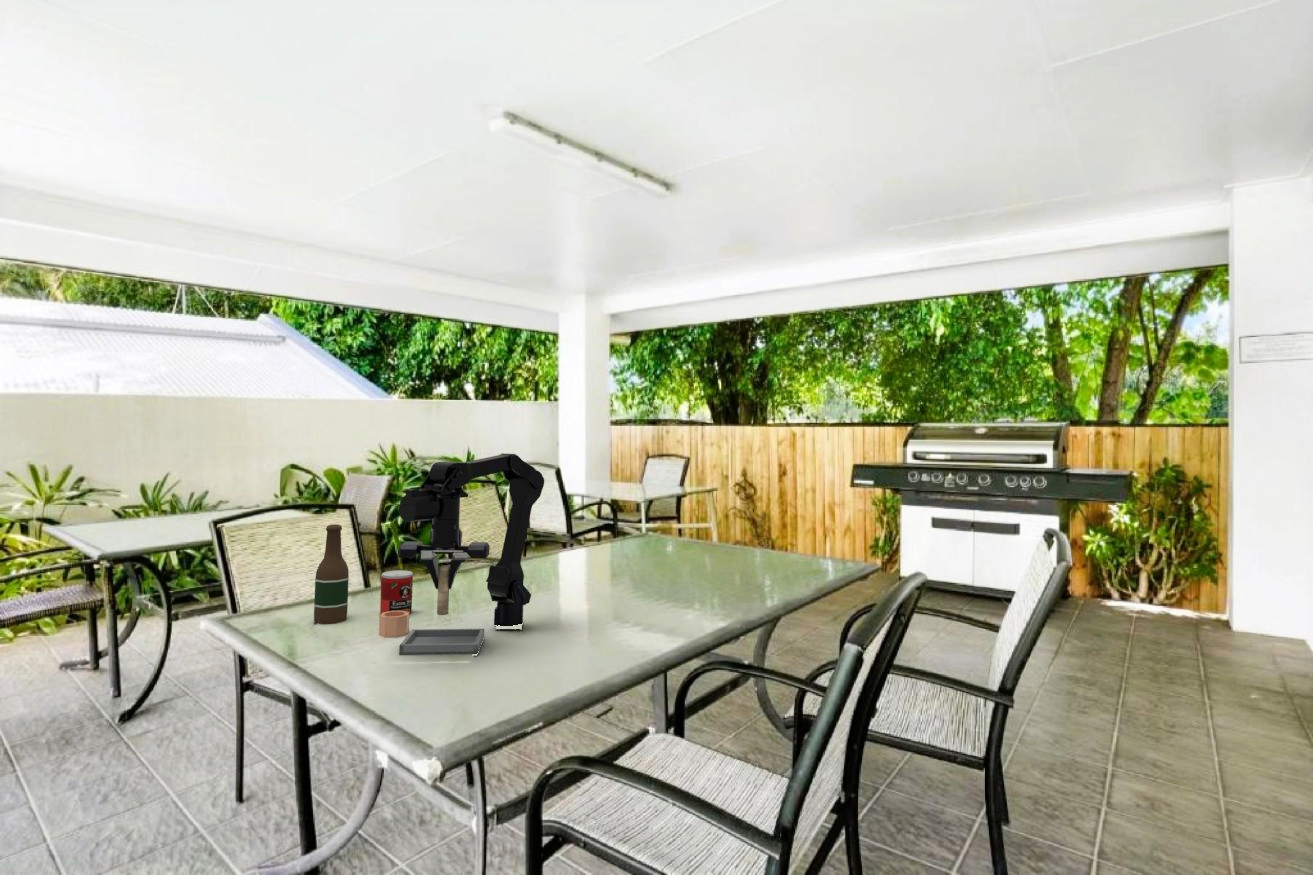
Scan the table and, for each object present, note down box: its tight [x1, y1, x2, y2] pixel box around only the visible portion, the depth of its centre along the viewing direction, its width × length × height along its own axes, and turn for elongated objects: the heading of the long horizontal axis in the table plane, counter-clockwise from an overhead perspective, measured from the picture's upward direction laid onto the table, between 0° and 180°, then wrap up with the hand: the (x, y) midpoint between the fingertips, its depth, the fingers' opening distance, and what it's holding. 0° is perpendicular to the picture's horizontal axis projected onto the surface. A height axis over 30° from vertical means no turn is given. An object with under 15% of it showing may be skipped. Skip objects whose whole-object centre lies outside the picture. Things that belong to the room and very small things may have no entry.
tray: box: [398, 628, 485, 656], centre depth 144 cm, size 16×12×2 cm
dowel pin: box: [436, 564, 450, 616], centre depth 144 cm, size 2×2×10 cm
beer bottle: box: [313, 524, 350, 626], centre depth 161 cm, size 8×8×24 cm
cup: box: [378, 611, 410, 638], centre depth 152 cm, size 6×6×5 cm
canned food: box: [379, 569, 414, 616], centre depth 169 cm, size 8×8×11 cm
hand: (443, 588), depth 144 cm, fingers closed on dowel pin, 2 cm apart
